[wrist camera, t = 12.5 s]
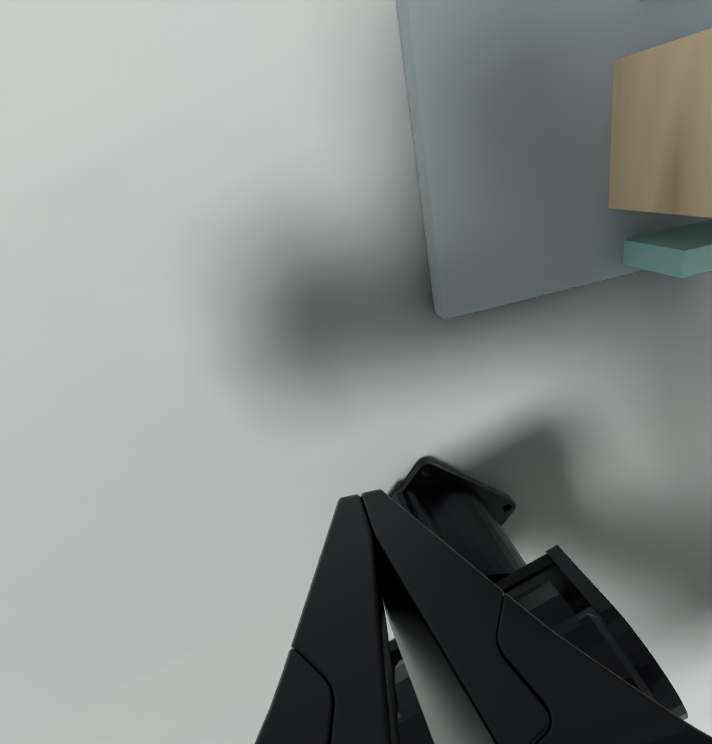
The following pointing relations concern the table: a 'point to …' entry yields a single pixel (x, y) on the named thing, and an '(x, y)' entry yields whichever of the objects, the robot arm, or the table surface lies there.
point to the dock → (533, 146)
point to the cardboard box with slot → (663, 129)
